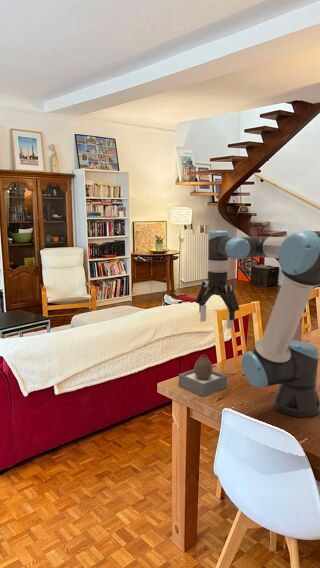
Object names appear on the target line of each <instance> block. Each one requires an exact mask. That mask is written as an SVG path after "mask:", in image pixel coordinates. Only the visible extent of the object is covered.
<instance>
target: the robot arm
mask: <svg viewBox="0 0 320 568" xmlns="http://www.w3.org/2000/svg"><path fill="white" fill-rule="evenodd" d="M229 233H230V232H229V231H228V230H210V231H209V233H208V240H207V241H208V243H207V244H208V245H207V246H208V248H207V251H208V255H207V256H208V258H207V270H208V272H207V280H206V281H205V280H204V281H202V282H201V286H200V290H199V292H198V294H197V297H196V299H195V303H196V304H198V306H199V315H200V318H199V319H200V320H199V322H200V323H204V322H206V321H207V302H208V301H209V300H210V298H211V297H212V296H213V295H216V296H219V297H220V298H221V300H222V301H223V302H224V304H225V306H226V308H227V309H228V310H227V313H226V329H227V330H229V329H232V328H234V320H235V312H236V311H240V306H239V303H238V300H237V297H236V295H235V291H234V285H232V284H230V285H227V282H228V272H227V271H228V268H229V265H228V262H229V259H233V260H242V259H245V258H246V259H247V258H266V259H267V258H269V259H270V258H273V259H278V265H279V266H280V269H281V272H280V273H281V274H282V275H283V280H282V282H281V286H280V289H279V291H278V294H277V297H276V299H275V302H274V305H273V307H272V311H271V314H270V316H269V319H268V322H267V324H266V327H265V330H264V333H263V336H262V338H259V339H257V340H256V342H254V345H253V349H252V350H249V351H247V352H244V353H243V355H242V358H241V368H242V372H243V375H244V377H245V379H246V381H247V382H248V383H249V384H250V385H251V386H253V387H254V388H267V387H271V386H276V385H279V386H278V388H277V390H276V394H275V396H274V399H273V407H274V408H275V409H276V410H277V411H279V412H281V413H282V414H284V415H287V416H291V417H295V418H296V417H297V418H311V417H315V416H317V415H319V413H320V399H319V396H318V392H317V379H318V378H317V377H318V367H319V350H318V347H317V346H315V344H312V343H308V342H306V341H302V340H301V341H297V340H292V339H293V337H294V334H295V332H296V329H297V327H298V325H299V322H300V320H301V317H302V318H303V314H304V313H305V310H306V307H307V304H308V303H309V299H310V297H311V294H312V292H313V290H314V288H315V287H319V286H320V230H318V231H317V230H316V231H315V230H302V231H294V232H292V233H290V234H288V235H287V236H269V235H268V236H238V237H237V236H230V235H229Z"/></svg>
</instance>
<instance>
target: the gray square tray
mask: <svg viewBox="0 0 320 568" xmlns="http://www.w3.org/2000/svg"><path fill="white" fill-rule="evenodd" d="M178 386H179V387H180V388H183V389H184V390H187V391H190V392H192V393H194V394H196V395H198V396H200V395H201V396H200V397H202V396H204V397H206V396H209V395H211V394H214V393H216V392H217V393H218V392H219V391H222V390H224V389H227V388H228V387H227V386H228V376H227V375H226V374H224V373H223V374H222V373H220V372H217V371H214V370H212V374H211V376H210V377H209V378H208V379H206V380H201V379H198V378H197V377H196V375H195V372H194V369H190V370H188V371H184V372H182V373H179V374H178Z"/></svg>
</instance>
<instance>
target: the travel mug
mask: <svg viewBox="0 0 320 568" xmlns="http://www.w3.org/2000/svg"><path fill="white" fill-rule="evenodd" d="M302 323H303V316H302V317H301V320H300V322H299V325H298V327H297V329H296V332H295V334H294V337H293V339H292V340H297V341H302V325H303V324H302Z"/></svg>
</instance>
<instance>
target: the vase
mask: <svg viewBox="0 0 320 568" xmlns="http://www.w3.org/2000/svg"><path fill="white" fill-rule="evenodd" d="M193 370H194V372H195V375H196V377H197V378H198V379H201V380H206V379H208V378H209V377H210V376H211V374H212V371H213V364H212V362H211V361H210V359H209V358H208V356H207V355H206V354H201V355H200V356H199V358H198V359H197V360H196V361H195V364H194V369H193Z"/></svg>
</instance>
